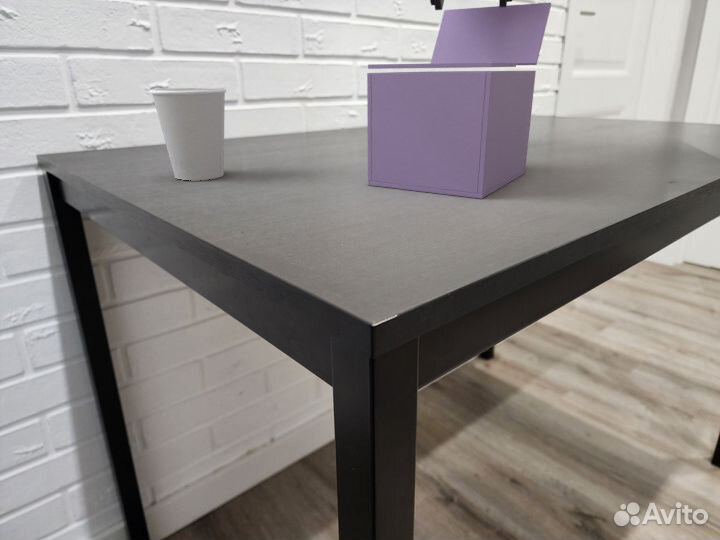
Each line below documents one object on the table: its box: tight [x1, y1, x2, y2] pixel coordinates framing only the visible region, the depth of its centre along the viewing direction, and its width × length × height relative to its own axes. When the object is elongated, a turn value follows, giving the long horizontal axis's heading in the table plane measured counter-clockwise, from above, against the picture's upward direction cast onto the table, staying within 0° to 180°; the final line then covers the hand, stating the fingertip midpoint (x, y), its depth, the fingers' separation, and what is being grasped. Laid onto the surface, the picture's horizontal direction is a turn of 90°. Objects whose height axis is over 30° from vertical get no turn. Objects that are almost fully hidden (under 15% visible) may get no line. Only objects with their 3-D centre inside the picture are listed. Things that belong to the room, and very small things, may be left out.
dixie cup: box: [149, 86, 227, 182], centre depth 60 cm, size 8×8×10 cm
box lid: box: [430, 2, 552, 66], centre depth 61 cm, size 7×13×1 cm
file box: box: [366, 62, 537, 200], centre depth 57 cm, size 15×13×12 cm
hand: (469, 1), depth 53 cm, fingers open, 6 cm apart
